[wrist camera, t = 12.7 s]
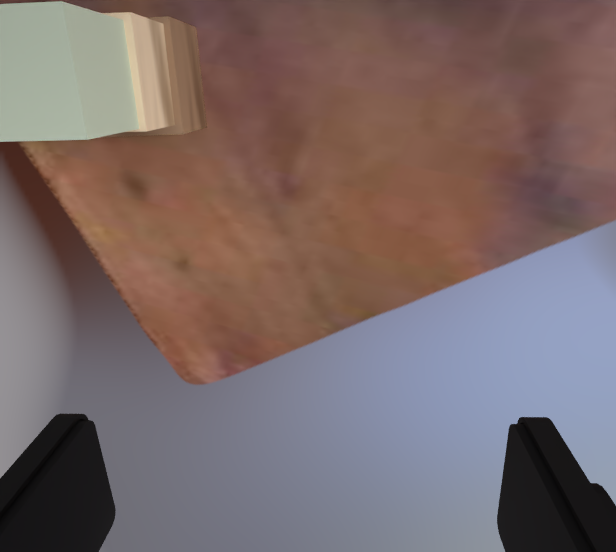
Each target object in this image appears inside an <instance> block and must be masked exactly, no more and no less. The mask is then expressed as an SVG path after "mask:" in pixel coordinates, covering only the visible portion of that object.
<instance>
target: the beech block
mask: <svg viewBox="0 0 616 552" xmlns="http://www.w3.org/2000/svg"><path fill="white" fill-rule="evenodd" d="M102 14H105V15H109V16H112V17H115V18H118V19H122V20H123V22H124V29H125V35H126V42H127V49H128V55H129V62H130V69H131V76H132V82H133V89H134V96H135V103H136V109H137V116H138V123H139V129H136V130H131V131H127V132H147V131H151V130H155V129H160V128H164V127H168V126H173V125H175V122H174V114H173V105H172V96H171V87H170V78H169V69H168V60H167V52H166V43H165V34H164V25H163V23H160V22H157V21H154V20H151V19H148V18H145V17H142V16H140V15H137V14H134V13H131V12H125V13H102Z"/></svg>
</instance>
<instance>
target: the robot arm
mask: <svg viewBox="0 0 616 552" xmlns="http://www.w3.org/2000/svg"><path fill="white" fill-rule="evenodd" d="M114 519H115V505H114V501H113V497H112V493H111V489H110V485H109V481H108V476H107V472H106V468H105V464H104V461H103V456H102V452H101V448H100V444H99V440H98V436H97V432H96V428H95V424H94V422H93V421H90V420H88V418H87V417H86V415H84V414H58V415H56V416H55V417H54V418H53V419H52V420H51V421H50V422H49V424H48V425H47V426H46V427H45V428H44V429H43V430H42V431H41V433H40V434H39V435H38V436H37V437H36V438H35V439H34V441H33V442H32V443H31V444H30V445H29V446H28V448H27V449H26V450H25V451H24V452H23V453H22V454H21V456H20V457H19V458H18V459H17V460H16V461H15V462H14V464H13V465H12V466H11V467H10V468H9V470H7V472H6V473H5V474H4V475H3V476H2V477H1V478H0V552H99V550H100V548H101V546H102V544H103V542H104V540H105V538H106V536H107V534H108V533H109V531H110V529H111V527H112V524H113V522H114ZM497 524H498V530H499V534H500V538H501V540H502V543H503V546H504V549H505V552H616V506H615V504H614V502H613V501H612V499H611V498H610V496H609V495H608V493H607V492H606V491H605V490H604V488H603V487H602V486H600V485H599V484H597V483H590V482H589V480H588V479H587V477H586V475H585V474H584V472H583V471H582V469H581V467H580V466H579V464H578V462H577V461H576V460H575V458H574V456H573V455H572V453H571V451H570V450H569V448H568V447H567V445H566V443H565V442H564V440H563V438H562V437H561V435H560V434H559V432H558V431H557V429H556V427H555V426H554V424H553V422H552V421H551V420H550V419H549V418H546V417H543V418H542V417H521V418H519V420H518V423H517V424H511V425H510V427H509V433H508V440H507V448H506V456H505V463H504V470H503V479H502V485H501V493H500V500H499V508H498V515H497Z"/></svg>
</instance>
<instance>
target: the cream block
mask: <svg viewBox="0 0 616 552" xmlns="http://www.w3.org/2000/svg"><path fill="white" fill-rule="evenodd" d="M148 19H151V20H154V21H157V22H160V23H163V25H164V34H165V43H166V52H167V60H168V69H169V78H170V87H171V96H172V105H173V114H174V122H175V125H173V126H168V127H164V128H160V129H155V130H151V131H147V132H122V133H117V134H112V135H107V136H103V137H121V136H150V135H178V134H186V133H190V132H193V131H196V130H200V129H203V128H206V127H207V123H206V114H205V104H204V95H203V86H202V77H201V68H200V59H199V50H198V41H197V32H196V27H194V26H192V25H189V24H187V23H184V22H182V21H179V20H177V19H174V18H172V17H169V16H166V17H148Z"/></svg>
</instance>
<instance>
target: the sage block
mask: <svg viewBox="0 0 616 552" xmlns="http://www.w3.org/2000/svg"><path fill="white" fill-rule="evenodd" d="M136 129H139V123H138V116H137V109H136V103H135V96H134V89H133V82H132V76H131V69H130V62H129V55H128V49H127V42H126V35H125V29H124V22H123V20H122V19H118V18H115V17H112V16H109V15H105V14H102V13H99V12H95V11H92V10H89V9H85V8H82V7H79V6H76V5H72V4H69V3H66V2H62V1H59V2H36V3H14V4H0V142H5V141H6V142H7V141H50V140H88V139H93V138H98V137H103V136H107V135H112V134H117V133H122V132H127V131H131V130H136Z"/></svg>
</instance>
